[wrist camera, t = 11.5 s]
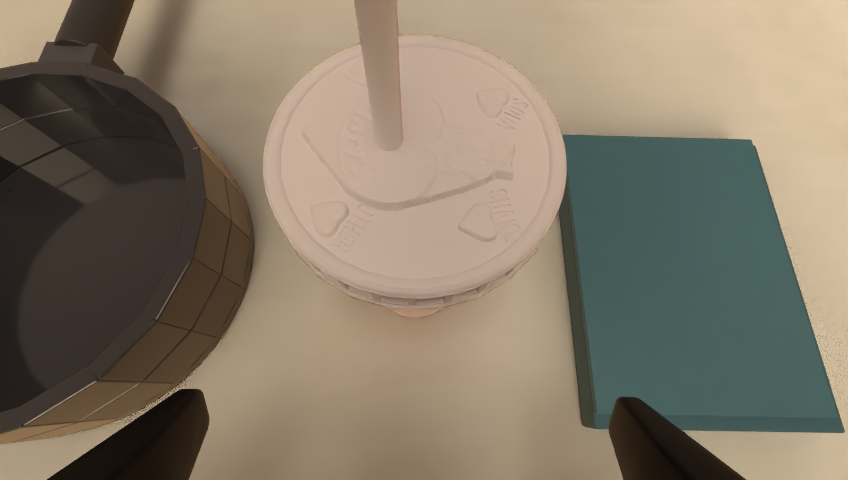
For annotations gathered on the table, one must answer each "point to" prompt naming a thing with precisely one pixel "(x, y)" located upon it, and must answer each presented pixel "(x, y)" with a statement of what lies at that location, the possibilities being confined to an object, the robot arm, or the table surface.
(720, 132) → the table surface
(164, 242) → the pan
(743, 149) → the teal flat block
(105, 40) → the pan handle
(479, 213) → the smoothie
